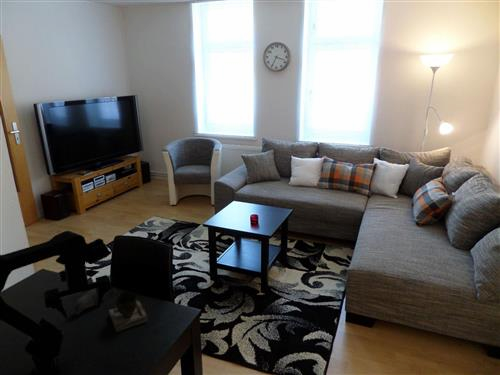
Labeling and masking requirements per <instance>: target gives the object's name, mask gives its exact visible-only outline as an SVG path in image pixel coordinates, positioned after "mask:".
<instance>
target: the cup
mask: <svg viewBox="0 0 500 375" xmlns="http://www.w3.org/2000/svg"><path fill="white" fill-rule="evenodd" d="M137 297H138V296H137V293H135V292H133V291H131V292H130V291H128V292H127V291H123V292H121V293H120V294H119V296H116V297H115V298H114V299H115V300H114V302H115V305H116V308H117V309H118V311H119V313H120V314H122V315H123V317H125V318H129V317H131V316H132V315H133V312H134V311H135V309H136V302H137V301H138V299H137Z"/></svg>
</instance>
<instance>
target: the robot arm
mask: <svg viewBox="0 0 500 375" xmlns="http://www.w3.org/2000/svg"><path fill="white" fill-rule="evenodd" d="M109 254H110V251H109V249H108V247H107V244H106V243H105V242H104V239H102V238H96V239H95V240H93V241H91V242H89V243H88V242H87V241H86V238H85V236H83V235H81V234H78V233H76V232H74V231H70V230H65V231H63V232H60V233H58V234H56V235H54V236H52V238H51V239H49V240H48V241H46V242H45V241H43V242H41V243H38V244H35V245H32V246H31V245H30V246H28V247H24V248H21V249H18V250H15V251H11V252H8V253H4V254H0V294H1V293H2V292H3V290H4V288H5V286H6V283H7V281H8V278H9V276H10V274H11V273H12V272H13V271H16V270H18V269H20V268H25V267H28V266H29V265H32V264H36V263H38V262H42V261H44V260H47V259H50V258H54V257H57V256H58V257H57V258H56V259H55V262H56V263H58V264H59V265H62V266H64V270H62V271H60V272H59V276H60V281H61V283H63V282H64V283H65V282H66V286H67V289H65V290H62V291H61V290H60V291H59V287H55V288H52V289H48V290H45V291H44V292H43V295H44V296H43V297H44V304H45V308H47V309H50V308H51V310H52V309H53V310H57V311H58V312H60V314H61V315H62V316H63V317H64V318H65V320H66V319H68V315H67V311H66V308H65V305H64V302H63V299H64V298H68V297H70V296H75V295H77V294H82V293H84V292H89V291H90V290H92V289H95V288H96V305H95V306H96V309H97V310H99V309H100V306H101V303H102V300H103V299H104V297H105V296H106V295H105V293H107V294H108V292H109V291H112V290H113V285H112V280H111V281H110V279H111V278H110V276H109V275H108V274H105V275H102V276H98V277H97V276H96V277H95V282H94V281H93V282H91V283H89V280H88V279H89V278H88V273H87V266H86V264H89V265H93V264H95V263H97V262H99V261H101V260H103V259H105V258H107V257H109ZM109 278H110V279H109ZM104 295H105V296H104ZM0 320H1V321H2V322H4V323H6V324H8V325H9V326H11V327H13V328H14V329H15V330H17V331H20V332H21V333H23V334H24V335H26V337H27V338H28V339H29V341H28V343H27V344H26V346H25V348H24V350H23V351H24V352H25V353H27V355H29V356H31V359H32V360H31V361H32V365H33V375H59V374H60V365H59V364H60V363H59V359H58V358H57V357H59V356H60V351H61V348H62V347H61V346H62V342H63V340H64V335H63V333H62V332H63V330H62V329H61V328H59V327H57V326H56V325H54V324H52V323H51V322H49V321H47V320H46V319H45V318H41V319H40V321H39V322H38V321H35V320H33V319H32V318H30V317H28V316H26V315H25V314H23V313H22V312H20V311H19V310H17V309H16V308H14V307H12V306H10V305H9V304H8V303H7V302H6V301H5V299H4V298H3V297H2V296H1V295H0Z"/></svg>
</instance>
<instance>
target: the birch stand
mask: <svg viewBox="0 0 500 375" xmlns="http://www.w3.org/2000/svg"><path fill="white" fill-rule="evenodd" d="M109 315H110V319H111V322H112V324H113V327H114V329H115V331H116V332H118V333H119V332H122V331H123V330H126V329H128V328H129V329H130V328H132V327H134V326H138V325H140V324H141V325H142V324H143V323H146V322H148V321H149V320H148V315H147V313H146V310H145V309H144V307H143V305H142V304H141V302H140V300H137V302H136V309H135V311H134V312H133V315H132V316H131V317H129V318H125V317H123V315H122V314H120V313H119V311H118V309H117V307H115V308H112V309H109ZM116 332H115V333H116Z"/></svg>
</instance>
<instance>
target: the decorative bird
mask: <svg viewBox="0 0 500 375" xmlns="http://www.w3.org/2000/svg"><path fill="white" fill-rule="evenodd" d="M109 279H110V281H111V282H112V279H111V277H109ZM107 294H108V295H111V296H115V295H114V289H111V292H110V291H108V293H105V295H104V297H105V296H106V295H107ZM94 306H96V288H95V289H92V290H88V291H87V293H86V294H84V295H82V296H81V297H79V298H78V299H77V300H76V302H75V304H74V312H75V314H76V316H79V315H80V314H81V313H82V311H84V310H85V309H87V308H91V307H94Z"/></svg>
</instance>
